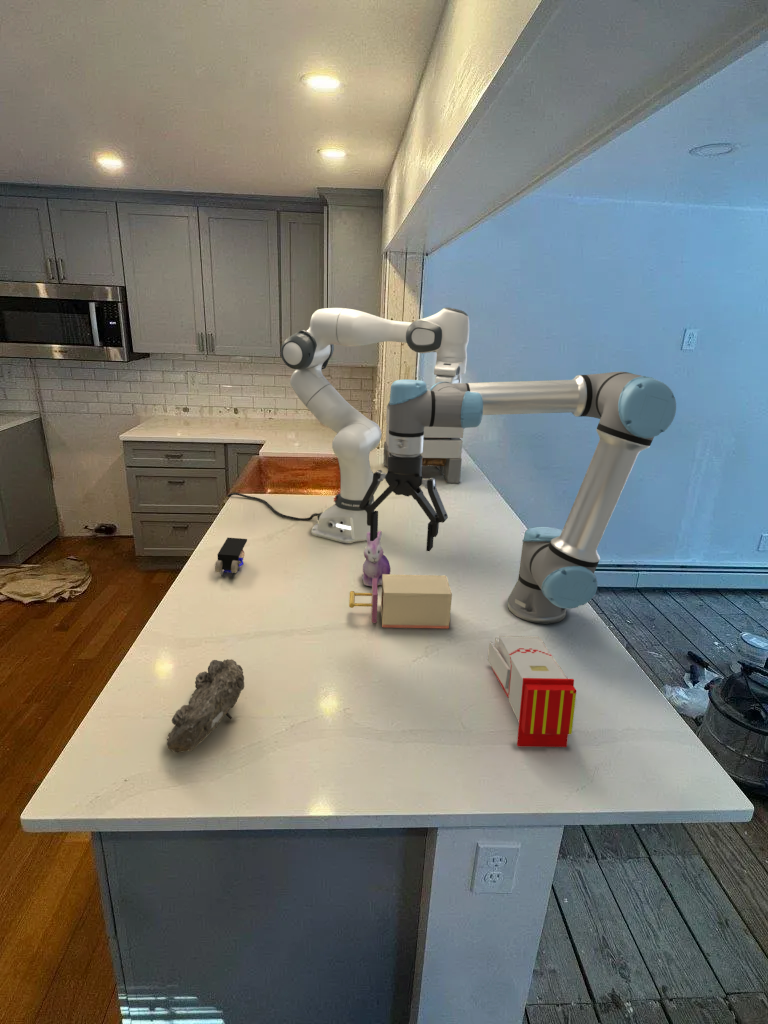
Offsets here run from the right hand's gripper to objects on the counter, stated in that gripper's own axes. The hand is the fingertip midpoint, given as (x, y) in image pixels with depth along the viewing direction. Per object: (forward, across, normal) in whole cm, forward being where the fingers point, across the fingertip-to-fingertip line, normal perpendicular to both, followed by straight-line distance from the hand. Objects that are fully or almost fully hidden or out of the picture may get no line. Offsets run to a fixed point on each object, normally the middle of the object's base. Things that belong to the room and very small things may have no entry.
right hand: (401, 544), depth 130 cm
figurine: (+24, -16, +25) cm, 38 cm away
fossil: (+24, -22, -42) cm, 53 cm away
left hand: (-21, -6, +53) cm, 57 cm away
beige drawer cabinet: (+24, +1, +10) cm, 26 cm away
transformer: (+24, -40, +141) cm, 148 cm away
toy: (+24, +32, -12) cm, 42 cm away
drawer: (+23, -5, +7) cm, 25 cm away
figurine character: (+24, -57, +12) cm, 63 cm away
